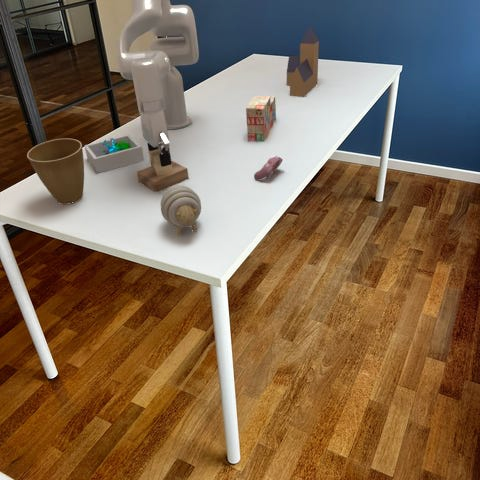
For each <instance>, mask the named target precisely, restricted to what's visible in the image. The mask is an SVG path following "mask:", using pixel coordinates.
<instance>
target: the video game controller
mask: <svg viewBox="0 0 480 480" xmlns="http://www.w3.org/2000/svg"><path fill="white" fill-rule="evenodd" d="M282 163H283V158H282V157H280V156H277V155H275V156H274V157H270V158H268V160H267V162H266V163H265V164H264V165H263V167H262V168H260V170H258V171H256V172H255V173H254V174H253V177H254V179H255V180H256V181H261V180H263V179H265V178H266V179H269V178H270V177H271V175H273V174H275V173H276V172H277V169H278V168H279V167H280V166H281V164H282Z"/></svg>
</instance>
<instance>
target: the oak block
mask: <svg viewBox="0 0 480 480" xmlns="http://www.w3.org/2000/svg"><path fill="white" fill-rule="evenodd" d="M161 149H163V147H161ZM147 153H148V158H149V163H150V166H151V170H152V171H153V172H154V173H155V174H156V175H158V176H159V175H162V174H165V173H169V172H172V171H173V168H172V164H171V165H168V166H164V167H162V166H161V163H160V157H159V154H160V152H159V149H157V150H153V151H150V152H149V151H148V152H147ZM170 156H171V154H170ZM171 157H172V156H171ZM171 163H172V162H171Z"/></svg>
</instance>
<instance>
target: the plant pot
mask: <svg viewBox="0 0 480 480" xmlns="http://www.w3.org/2000/svg"><path fill="white" fill-rule="evenodd" d="M26 156H27V159H28V161H29V163H30V164H31V166H32V168H33V170H34V172H35V173H36V175H37V176H38V178H39V180H40V182H41V183H42V184H43V186H44V187H45V188H46V190H47V191H48V192H49V194H51V196H52V197H53V198H54V199H55V201H57V203H58V204H60V203H63V204H62V205H69V204H68V203H71V204H73V203H72V202H74V203H77V202H79V201H80V200H81V199H82V198H83V194H84V185H85V159H84V151H83V144H82V142H81V141H79V140H78V139H74V138H66V137H65V138H56V139H52V140H48V141H44V142H41V143H38V144H37V145H35V146H34V147H32V148H30V150H28V152H27V154H26ZM79 199H80V200H79ZM78 200H79V201H78ZM76 201H77V202H76Z"/></svg>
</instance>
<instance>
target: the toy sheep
mask: <svg viewBox="0 0 480 480" xmlns="http://www.w3.org/2000/svg"><path fill="white" fill-rule="evenodd" d="M201 212H202V202H201V198H200V197H199V195H198V194H197V193H196V192H195V191H194V190H193V189H192V188H190V187H188V186H185V185H184V184H175V185H173V186H171V187H169V188H166V189H165V190H164V192H163V194H162V198H161V200H160V213H161V216H162V218H163V219H164V220H165V221H166V222H167V223H168V224H169V225H171V226H172V227H175V232H176V235H177V236H181V235H182V234H183V233H182V228H188V227H189V228H190V229H191V231H192V230H193V231H192V232H196V231H197V224H196V222H197V220H198V218H199V217H200V215H201ZM195 230H196V231H195ZM181 233H182V234H181ZM180 234H181V235H180Z"/></svg>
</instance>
